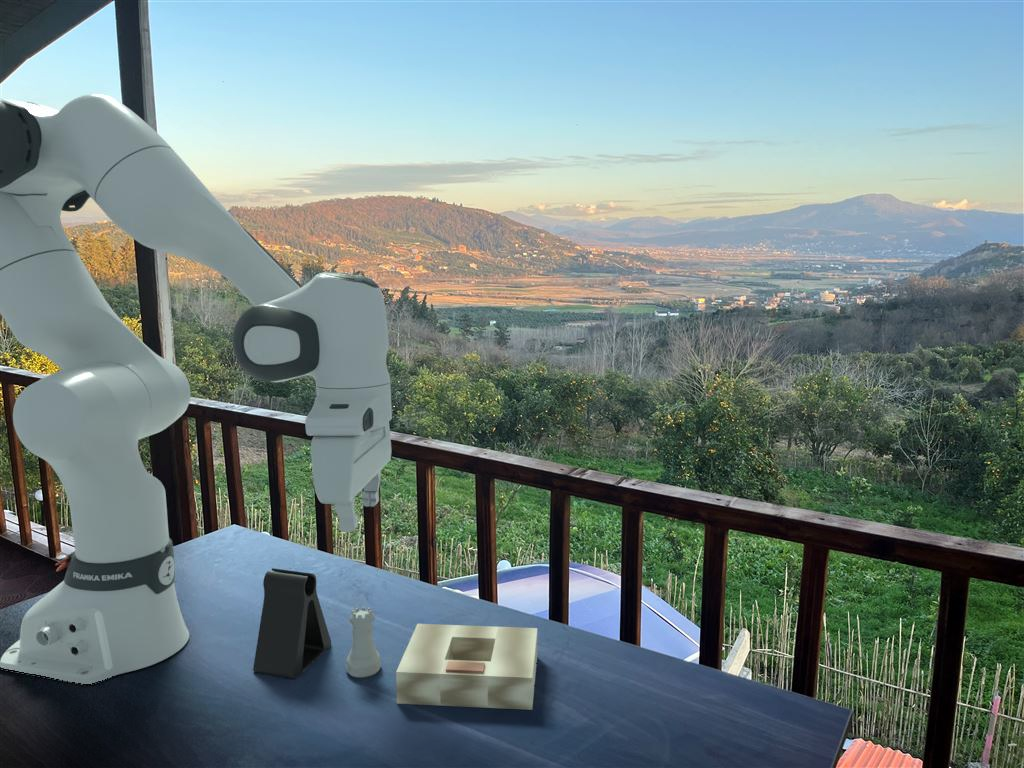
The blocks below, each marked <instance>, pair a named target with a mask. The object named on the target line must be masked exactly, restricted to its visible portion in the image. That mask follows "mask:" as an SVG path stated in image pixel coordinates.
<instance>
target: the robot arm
mask: <svg viewBox="0 0 1024 768" xmlns="http://www.w3.org/2000/svg"><path fill="white" fill-rule="evenodd" d="M211 192H212V191H210V190H209V189H208V188H207V187H206V185H205V184H204V183H203V182H202V181H201V180H200V179H199V177H198V176H197V175H196V174H195V172H194V171H192V169H191V168H190V166H188V165H187V164H186V163H185V161H184V160H183V158H181V157H180V155H178V153H177V152H176V150H174V149H173V148H172V146H171V145H169V143H168V142H167V141H166V140H165V139H164V138H163V137H162V136H161V135H159V133H158V132H157V131H156V130H155V129H153V127H151V126H150V125H149V124H148V123H147V122H146V121H145V120H143V119H142V118H141V117H140V116H139V115H138V114H137V113H136V112H134V111H133V110H132V109H130V108H129V107H127V106H126V105H124V104H123V102H121V101H120V100H118V99H116V98H114V97H112V96H109V95H106V94H99V93H91V94H85V95H81V96H78V97H76V98H74V99H72V100H70V101H69V102H67V103H66V104H65V105H63V107H61V109H59V110H57V109H55V108H52V107H49V106H45V105H42V104H40V103H39V104H38V103H35V102H31V101H21V100H14V99H7V98H0V314H1V317H3V319H4V322H5V323H6V324H7V326H8V328H9V330H10V331H11V333H12V334H13V336H14V337H15V339H16V340H17V341H18V343H20V344H21V346H23V347H24V348H27V349H29V350H31V351H32V352H35V353H37V354H39V355H41V356H43V357H44V358H46V359H48V360H50V361H51V362H52V363H53V364H55V366H57V367H58V368H59V369H60V370H58V371H56V372H54V373H52V374H49V375H47V376H44V377H42V378H41V379H39V380H37V381H35V382H33V383H32V384H30V385H28V386H26V387H25V388H24V389H23V390H22V391H21V392H20V394H19V395H18V396H17V398H16V400H15V402H14V406H13V410H12V411H13V412H12V421H13V427H14V431H15V433H16V435H17V437H18V439H19V442H21V444H22V445H23V446H24V447H25V448H26V449H27V450H28V451H29V452H31V454H33V455H34V456H37V457H38V458H40V459H42V460H44V461H45V462H47V463H48V465H49V466H51V468H52V469H53V471H54V473H55V474H56V475H57V477H58V479H59V481H60V483H61V484H62V487H63V490H64V491H65V494H66V498H67V501H68V505H69V506H68V507H69V513H70V519H71V520H70V521H71V526H72V535H73V544H74V551H73V552H71V553H69V554H68V555H66V557H65V558H63V559H62V560H60V561H59V562H57V563H55V566H59V567H57V569H56V570H55V571H56V572H60V571H62V570H63V569H65V568H67V569H66V572H65V576H64V579H63V580H62V581H61V582H60V583H59V584H58V585H56V586H55V587H54V588H52V589H51V590H50V591H49V592H48V593H46V594H45V595H44V596H43V597H42V598H40V599H39V600H38V601H37V602H35V603H34V604H33V605H32V606H31V607H30V608H29V609H28V610H27V612H25V615H24V616H23V618H22V621H21V626H20V633H19V639H18V640H17V641H16V642H14V643H13V644H12V645H11V646H10V647H8V649H6V650H5V652H4V653H3V654H2V656H1V657H0V667H1V668H4V669H9V670H15V671H19V672H24V673H29V674H36V675H41V676H46V677H50V678H49V679H51V678H54V679H53V680H56V679H59V680H58V681H62V680H63V682H67V681H68V683H72V682H75V683H74V684H78V683H81V684H80V685H83V684H91V685H93V684H92V683H95V682H98V681H101V682H103V681H105V679H106V680H108V679H110V678H112V676H113V677H115V676H117V675H122V674H126V673H129V672H133V671H137V670H140V669H144V668H148V667H150V666H153V665H155V664H157V663H160V662H162V661H164V660H167V659H168V658H169V657H171V656H174V655H175V654H176V653H177V652H179V651H180V650H182V648H184V647H185V645H186V644H187V643H188V642H189V639H190V632H189V630H188V629H189V628H188V627H187V626H186V623H185V620H184V617H183V615H182V614H183V613H182V612H181V608H180V604H179V601H178V597H177V591H176V587H175V577H176V576H175V575H176V573H175V572H176V571H175V570H176V565H175V563H176V562H175V553H174V552H175V550H174V544H173V540H172V538H170V533H169V522H168V520H169V519H168V507H167V496H166V488H165V486H164V485H163V483H162V481H161V480H160V479H158V478H157V477H156V476H153V475H152V474H149V472H148V471H147V469H146V468H145V465H144V462H143V461H142V458H141V455H140V451H139V441H140V440H142V439H144V438H147V437H151V436H153V435H156V434H158V433H160V432H163V431H164V430H166V429H167V428H169V427H170V426H171V425H172V424H174V423H175V422H176V421H178V419H180V418H181V417H182V416H183V414H185V412H186V411H187V409H188V407H189V405H190V402H191V395H192V394H191V392H192V391H191V386H190V381H188V377H187V376H186V374H185V373H184V372H183V370H182V369H181V368H180V367H179V366H177V365H176V364H175V363H173V362H171V361H169V360H167V359H165V358H163V357H162V356H160V355H159V354H157V353H156V352H154V350H152V349H151V348H150V347H149V346H147V345H146V344H145V343H144V342H143V340H141V339H140V338H139V337H138V336H137V334H136V333H134V331H132V329H130V328H129V326H127V324H126V323H125V322H124V321H123V320H122V319H121V318H120V317H119V316H118V315H117V313H116V312H115V311H114V310H113V309H112V307H111V305H110V304H109V303H108V301H107V300H106V299H105V297H104V295H103V293H102V292H101V291H100V289H99V287H98V286H97V284H96V282H95V281H94V279H93V277H92V276H91V274H90V272H89V271H88V268H87V267H86V265H85V264H84V262H83V261H82V259H81V257H80V255H79V253H78V252H77V250H76V248H75V247H74V245H73V244H72V242H71V241H70V238H69V237H68V235H67V233H66V231H65V229H64V228H63V225H62V221H61V213H62V211H63V212H69V213H70V212H71V213H72V212H77V211H79V210H81V209H82V208H83V207H85V204H86V203H87V202H88V200H89V199H90V198H91V199H92V200H93V202H94V203H95V204H96V205H97V206H98V207H99V208H100V209H101V210H102V212H104V214H105V215H106V216H107V217H108V219H110V220H111V221H112V222H113V224H115V225H116V226H117V227H118V228H119V229H120V230H121V231H123V232H124V233H126V234H127V235H128V236H129V237H130V238H132V239H134V241H136V242H138V243H139V244H140V245H142V246H144V247H146V248H149V249H152V250H155V251H159V252H163V253H165V254H170V255H173V256H177V257H180V258H184V259H187V260H191V261H194V262H195V263H199V264H201V265H204V266H206V267H207V268H210V269H211V270H213V271H215V272H216V273H219V274H220V275H222V277H224V278H226V280H228V282H230V283H231V285H232V286H234V288H236V289H237V290H238V291H239V292H240V293H241V294H242V295H243V296H244V297H245V298H246V299H247V300H248V301H249V302H250V303H251V304H252V305H253V306H254V307H253V306H252V307H251V308H249V309H248V310H246V311H245V312H243V313H242V314H241V316H240V317H239V318H238V320H237V321H236V323H235V325H234V328H233V332H232V349H233V353H234V356H235V359H236V360H237V363H238V365H239V366H240V367H241V369H242V370H243V371H244V372H245V373H247V374H248V375H249V376H250V377H252V378H254V379H256V380H258V381H262V382H269V383H270V382H271V383H283V382H287V381H291V380H295V379H300V378H303V377H306V376H309V377H312V378H313V379H314V381H315V394H316V397H315V399H314V403H313V405H312V408H311V409H310V411H309V412H308V414H307V416H306V418H305V424H304V425H305V426H304V427H305V433H306V435H307V436H310V437H311V436H313V437H312V439H311V442H310V443H311V444H310V458H311V469H312V478H313V485H314V491H315V494H316V496H317V499H318V501H319V502H320V503H321V504H326V505H328V504H330V505H333V507H334V511H335V513H336V515H337V517H338V525H339V531H341V532H342V533H353V532H354V531H355V529H356V528H357V527H359V526H358V525H359V522H358V518H359V517H358V513H356V511H355V503H356V496H358V494H359V493H360V492H361V491H362V490H363V492H362V494H361V500H362V501H361V502H362V505H363V507H368V508H369V507H371V508H372V507H375V506H376V505H377V504H378V503H379V501H380V498H379V497H380V496H379V493H380V492H379V489H380V483H381V479H382V478H381V477H382V471H381V470H383V468H384V467H386V465H387V464H388V463H389V462H390V461H391V459H392V458H391V457H392V441H391V440H392V439H391V438H392V437H391V429H390V421H391V420H392V419H393V411H392V410H393V409H392V389H391V387H392V386H391V376H390V374H389V370H388V366H387V356H388V352H389V351H388V350H389V345H390V344H389V343H390V342H389V329H388V319H387V318H388V317H387V309H386V304H385V300H384V295H383V292H382V289H381V287H380V286H379V284H378V283H376V281H375V280H373V279H372V278H369V277H367V276H364V275H359V274H352V273H346V272H338V271H322V272H319V273H317V274H315V275H314V276H313V278H312V279H311V280H310V281H308V283H306V284H305V285H303V284H301V283H300V282H299V281H298V280H297V279H296V278H295V277H294V276H293V275H292V274H291V273H290V272H289V271H288V270H287V269H286V268H285V267H284V266H283V265H282V264H281V263H280V262H279V261H278V260H277V259H276V258H275V257H274V256H273V254H271V253H270V252H269V251H268V250H267V249H266V248H265V247H264V246H263V245H262V244H261V243H260V242H259V240H257V239H256V238H255V237H254V236H253V235H252V234H251V233H250V232H249V231H248V230H246V229H245V228H244V227H243V226H242V225H241V224H240V223H239V222H238V221H237V219H236V218H234V216H233V215H232V214H231V213H230V212H229V211H228V210H227V209H226V208H225V206H224V205H222V204H221V202H220V201H219V200H218V199H217V198H216V197H215V195H213V193H211ZM71 206H72V207H71ZM19 672H18V673H19ZM24 673H23V674H24ZM29 674H28V675H29ZM107 678H108V679H107ZM102 680H103V681H102ZM98 683H99V682H98ZM95 684H96V683H95Z"/></svg>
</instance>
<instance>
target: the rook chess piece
mask: <svg viewBox="0 0 1024 768" xmlns="http://www.w3.org/2000/svg"><path fill="white" fill-rule="evenodd" d="M366 608H367V609H366ZM375 618H376V616H375V614H374V613H373V610H372V608H371V607H366V606H361V610H360V608H359V607H355V608H354V610H353V609H352V610H351V615H350V616H349V619H348V621H349V623H350V624H351V625H352V627H351V629H350V631H351V633H352V643H351V649H350V651H349V654H348V655H347V658H346V661H345V663H346V666H345V670H346V673H348V674H349V675H350V677H351V676H352V677H353V678H357V679H365V678H369V677H372V676H374V675H376V674H377V673H378V672H379V670H380V669H381V667H382V663H381V656H380V653H379V652H378V650H377V648H376V647H375V643H374V638H373V631H374V626H373V624H372V623H373V622H374V620H375Z"/></svg>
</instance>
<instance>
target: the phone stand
mask: <svg viewBox="0 0 1024 768" xmlns="http://www.w3.org/2000/svg"><path fill="white" fill-rule="evenodd" d="M262 583H263V584H262V586H263V593H264V595H263V596H264V597H263V603H262V609H261V616H260V622H259V627H258V628H259V629H258V637H257V643H256V647H255V648H256V649H255V655H254V662H253V666H252V667H253V669H252V671H253V672H254V673H260V674H265V675H271V676H275V677H276V676H277V677H282V678H288V679H291V680H292V679H293V680H296V679H297V678H298V677H299V676H300V675H302V673H303V672H305V670H306V671H307V669H308V668H309V667H310V666H311V665H312V664H313V663H314V662H315V661H317V659H319V658H320V657H321V656H322V655H323V654H324V653H325V652H327V650H329V649H330V648H331V647H332V641H331V637H330V634H329V633H330V632H329V630H328V627H327V624H326V620H325V616H324V613H323V609H322V607H321V604H320V600H319V597H318V593H317V576H316V575H315V574H314V573H309V572H302V571H297V570H289V569H280V568H273V567H272V568H271V570H267V571H266V573H265V575H264V578H263V581H262Z"/></svg>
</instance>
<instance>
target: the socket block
mask: <svg viewBox="0 0 1024 768" xmlns="http://www.w3.org/2000/svg"><path fill="white" fill-rule="evenodd" d="M537 661H538V628H537V627H536V628H535V627H516V626H515V627H514V626H512V627H511V626H488V625H487V626H485V625H461V624H456V625H455V624H437V623H436V624H435V623H434V624H433V623H417V624H416V626H415V629H414V631H413V633H412V635H411V637H410V639H409V642H408V644H407V647H406V649H405V651H404V652H403V655H402V657H401V659H400V662H399V665H398V666H397V669H396V673H395V679H396V680H395V681H396V704H398V705H400V704H401V705H419V706H420V705H421V706H441V707H442V706H443V707H445V706H446V707H464V708H465V707H466V708H482V709H483V708H484V709H485V708H486V709H489V708H490V709H505V710H506V709H509V710H510V709H511V710H529V711H533V706H534V695H535V686H534V685H536V684H535V683H536V673H537V664H536V663H538V662H537Z"/></svg>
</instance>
